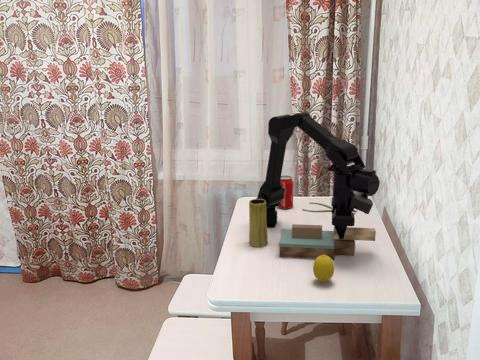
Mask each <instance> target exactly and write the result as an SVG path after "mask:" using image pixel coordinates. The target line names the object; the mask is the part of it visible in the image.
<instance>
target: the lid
mask: <svg viewBox="0 0 480 360" xmlns="http://www.w3.org/2000/svg"><path fill="white" fill-rule="evenodd" d="M279 246H281V247H303V248H325V249H334V230H323V225H321V224H300V223H299V224H297V223H296V224H295V223H294V224H292V225H291V228H290V229H289V228H288V229H287V228H282V229H281V234H280V238H279V243H278V247H279Z"/></svg>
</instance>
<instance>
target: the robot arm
mask: <svg viewBox="0 0 480 360" xmlns="http://www.w3.org/2000/svg"><path fill="white" fill-rule="evenodd" d="M267 123H268V127H267V128H268V129H267V130H268V131H267V133H268V137H269V138H270V141H271V142H270V143H271V144H270V148H269V149H270V150H269V155H268V161H267V162H268V163H267V168H266V176H265V180H264V182H263V183H262V185H261V186H260V187H259V191H258V192H257V197H256V198H255V199H264V200H265V201H266V221H267V228H275V227H276V225H277V224H278V210H276V207H277V206H279V205H280V202H281V201H282V199H284V192H285V188H283V187H282V186H281V183H280V179H281V176H282V172H283V167H284V161H285V154H286V148H287V144H288V141H290V139H292V136H293V134H294V131H295V129H296V128H298V129H300V130H301V131H302V133H305V135H307V136H308V137H309V139H312V140H313V141H314V142H315V143H316V144H317V145H319V146H320V147H321V148H322V149H323V150H324V152H325V156H326V158H328V160H329V161H330V162H331V163H332V164H331V165H329V167H328V168H327V171H329V172H333V178H332V179H333V185H332V197H331V202H330V203H331V204H330V205H331V206H330V207H333V209H331V210H332V212H331V225H332V226H333V227H335V229H336V231H337V233H338V236H339V238H340V239H343V238H344V235H345V232H346V228H347V227H355V223H356V222H355V219H356V218H355V215H353V214H352V213H353V212H352V211H354V210H356V211H360V212H363V213H364V214H366V215H370V212H371V210H372V208H373V205H374V202H373V200H372V199H371V198H369V196H374V195H376V193H378V191H379V189H380V186H381V185H380V184H381V183H380V182H381V180H380V179H379V176H378V175H377V171H376V170H374V169H366V165H365V162H364V161H363V159H362V158H361V156H360V154H359V149H358V148H357V146H356V145H355V144H353V143H352V142H349V141H348V140H346V139H342V138H340V137H339V138H338V137H337V136H335V135H334V134H332V133H331V132H330V131H329V130H328V129H326V128H325V127H324V126H323V125H322V124H320V123H319V122H318V121H316V120H315V119H314V118H313V117H312V116H311V114H310V113H308V112H306V111H301V112H297V113H296V112H295V114H292V115H291V114H282V115H277V116H272V117H270V118H269V120H268V122H267ZM355 192H357V194H356V193H355ZM358 193H359V194H358ZM368 195H369V196H368ZM277 208H278V207H277Z"/></svg>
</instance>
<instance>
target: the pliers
mask: <svg viewBox="0 0 480 360" xmlns="http://www.w3.org/2000/svg"><path fill="white" fill-rule="evenodd" d="M309 204H310V205H311V204H312V205H318V206H323V207H326V208H328V209H327V210H326V209H324V210H323V209H322V210H310V209H304V208H303V209H301V210H302V211H304V212H311V213H332V209H333V206H329V205H327V204H325V203H320V202H319V203H318V202H311V201H310V202H309ZM357 212H358V210H356V209H354V211H352V214H353V215H354V216H355V215H356V213H357Z"/></svg>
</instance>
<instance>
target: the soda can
mask: <svg viewBox="0 0 480 360" xmlns="http://www.w3.org/2000/svg"><path fill="white" fill-rule="evenodd" d="M280 183H281V186H282V187H283V188H285V192H284V199H282V201H281V202H280V205H279V206H277V208H280V209H281V210H288V209H290V208H292V207H293V206H294V180H293V177H292V176H290V175H281V179H280Z"/></svg>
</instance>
